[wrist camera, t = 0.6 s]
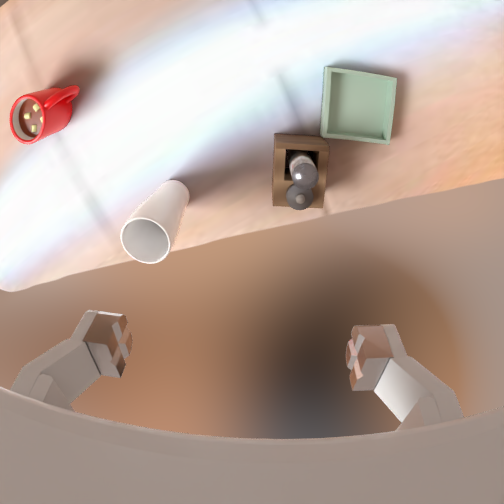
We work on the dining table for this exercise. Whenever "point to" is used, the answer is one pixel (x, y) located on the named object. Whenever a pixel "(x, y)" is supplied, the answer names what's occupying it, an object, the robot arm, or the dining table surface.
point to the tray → (357, 105)
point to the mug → (42, 113)
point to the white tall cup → (156, 223)
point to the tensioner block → (282, 179)
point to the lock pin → (302, 169)
